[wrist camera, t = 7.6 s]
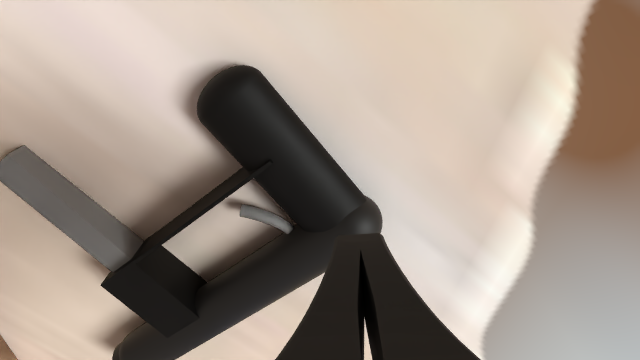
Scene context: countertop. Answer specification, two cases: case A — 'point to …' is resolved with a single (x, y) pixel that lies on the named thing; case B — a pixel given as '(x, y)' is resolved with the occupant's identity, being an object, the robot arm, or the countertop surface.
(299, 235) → the door handle
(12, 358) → the bar
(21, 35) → the countertop surface
